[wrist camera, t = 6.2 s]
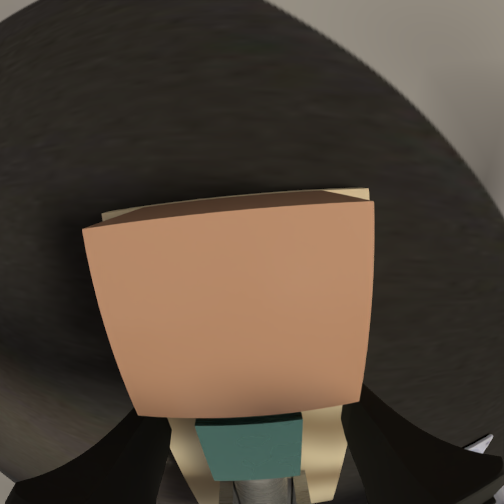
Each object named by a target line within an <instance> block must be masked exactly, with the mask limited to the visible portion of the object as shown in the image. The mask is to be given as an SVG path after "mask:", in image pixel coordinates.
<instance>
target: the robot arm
mask: <svg viewBox="0 0 504 504" xmlns="http://www.w3.org/2000/svg"><path fill="white" fill-rule="evenodd" d="M341 422H342V426H343V430H344V434H345V438H346V441H347V444H348V446H349V449H350V451H351V454H352V456H353V459H354V461H355V464H356V466H357V469H358V471H359V474H360V476H361V479H362V482H363V485H364V488H365V492H366V496H367V500H368V504H504V486H503V485H504V460H503V459H502V458H501V457H500V456H494V455H488V454H482V453H483V452H484V450H485V449H486V447H487V446H488V444H489V443H490V441H491V440H492V438H493V435H492V434H490V435H488V436H486V437H485V438H483V439H481V440H479V441H478V442H476V443H474V444H472V445H470V446H468V447H466V448H464V449H463V448H460V447H458V446H455V445H452V444H450V443H447V442H445V441H443V440H440V439H438V438H436V437H434V436H432V435H430V434H428V433H427V432H425V431H423V430H421V429H420V428H418V427H416V426H415V425H413V424H412V423H410V422H409V421H408V420H406V419H405V418H403V417H402V416H401V415H399V414H398V413H397V412H395V411H394V410H393V409H392V408H390V407H389V406H388V405H387V404H386V403H384V402H383V401H382V400H381V399H380V398H379V397H378V396H376V395H375V394H374V393H373V392H372V391H371V390H370V389H369V388H368V387H367V386H365V385H364V384H363V383H362V388H361V394H360V399H359V402H354V403H349V404H344V405H342V412H341ZM171 433H172V429H171V426H170V424H169V421H168V419H167V417H151V416H138V414H137V412H136V410H135V408H133V409H132V410H131V411H130V412H129V414H128V415H127V416H126V417H125V418H124V419H123V420H122V421H121V422H120V423H119V424H118V425H117V426H116V427H115V428H114V429H113V430H111V431H110V432H109V433H108V434H107V435H106V436H105V437H104V438H102V439H101V440H100V441H99V442H98V443H97V444H95V445H94V446H93V447H91V448H90V449H89V450H87V451H86V452H84V453H83V454H82V455H80V456H78V457H77V458H75V459H73V460H72V461H70V462H68V463H66V464H65V465H63V466H61V467H59V468H57V469H55V470H52V471H50V472H48V473H45V474H43V475H40V476H37V477H34V478H30V479H27V480H23V481H19V482H16V484H15V485H14V487H13V489H12V491H11V492H10V494H9V496H8V498H7V500H6V502H5V504H156V499H157V494H158V490H159V486H160V483H161V479H162V475H163V472H164V468H165V465H166V461H167V457H168V453H169V449H170V442H171Z"/></svg>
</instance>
